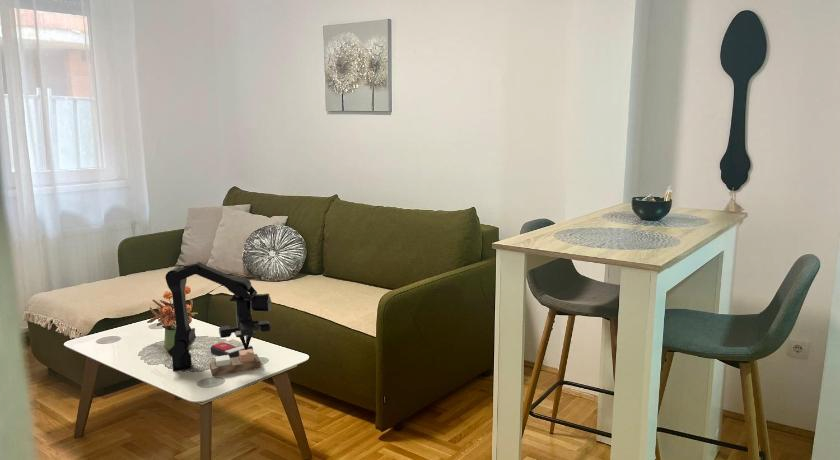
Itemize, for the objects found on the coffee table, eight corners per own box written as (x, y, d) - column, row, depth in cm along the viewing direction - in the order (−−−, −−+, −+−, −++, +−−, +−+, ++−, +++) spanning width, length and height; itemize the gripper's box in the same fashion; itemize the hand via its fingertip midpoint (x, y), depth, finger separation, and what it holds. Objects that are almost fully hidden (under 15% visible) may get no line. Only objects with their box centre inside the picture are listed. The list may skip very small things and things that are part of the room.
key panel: (212, 376, 234) (211, 369, 233) (210, 368, 241) (209, 361, 240) (260, 368, 241) (260, 360, 241) (257, 360, 248) (256, 353, 248)
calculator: (233, 337, 265) (252, 344, 254) (234, 347, 265) (253, 354, 255) (209, 344, 257) (228, 352, 247) (210, 354, 257) (229, 362, 247)
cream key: (217, 371, 236) (216, 361, 235) (215, 366, 240) (215, 356, 240) (230, 369, 238) (230, 359, 237) (229, 364, 242) (228, 354, 242)
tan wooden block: (241, 365, 239) (240, 355, 239) (239, 360, 244) (238, 350, 243) (254, 362, 241) (254, 353, 241) (252, 358, 246) (251, 348, 245)
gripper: (221, 321, 228) (223, 361, 231) (272, 314, 235) (274, 352, 238) (217, 312, 238) (220, 350, 241) (266, 305, 245) (268, 343, 248)
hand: (246, 349), depth 242 cm, fingers closed
